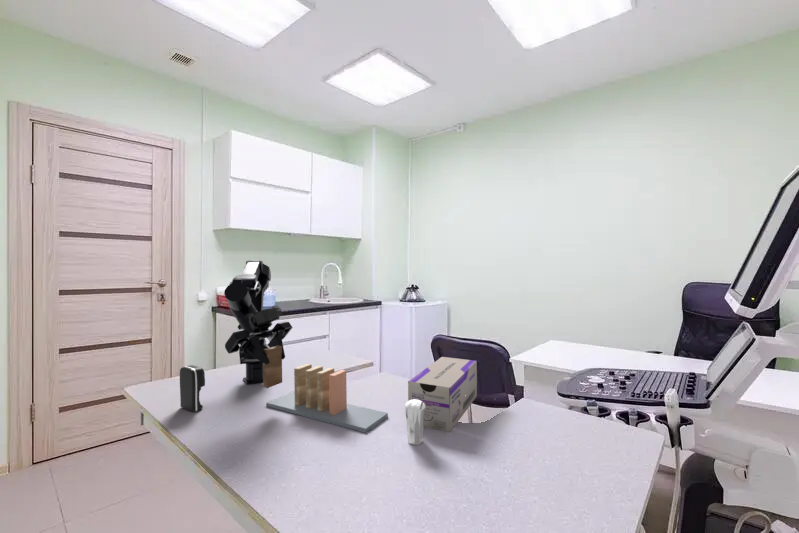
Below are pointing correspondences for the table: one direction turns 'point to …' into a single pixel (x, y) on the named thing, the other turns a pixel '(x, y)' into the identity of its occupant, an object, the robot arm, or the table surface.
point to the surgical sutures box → (445, 391)
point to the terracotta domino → (337, 392)
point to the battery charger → (191, 387)
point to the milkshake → (415, 420)
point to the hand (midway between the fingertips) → (276, 360)
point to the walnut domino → (273, 367)
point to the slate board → (347, 418)
